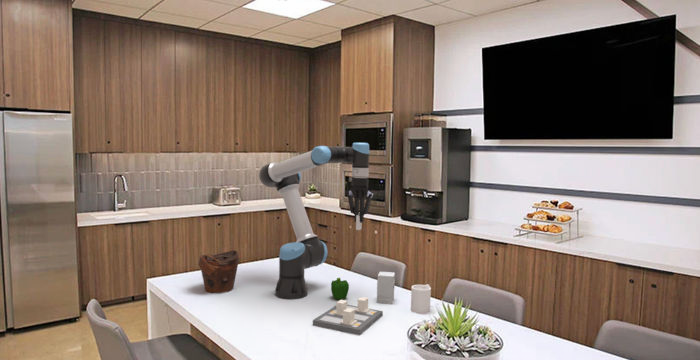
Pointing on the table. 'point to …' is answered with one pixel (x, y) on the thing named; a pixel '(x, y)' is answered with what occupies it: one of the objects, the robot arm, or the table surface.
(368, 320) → the switch bank
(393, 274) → the supplement box
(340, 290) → the bell pepper
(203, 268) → the chocolate chip muffin
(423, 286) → the cup
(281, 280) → the robot arm
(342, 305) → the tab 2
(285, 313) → the table surface
